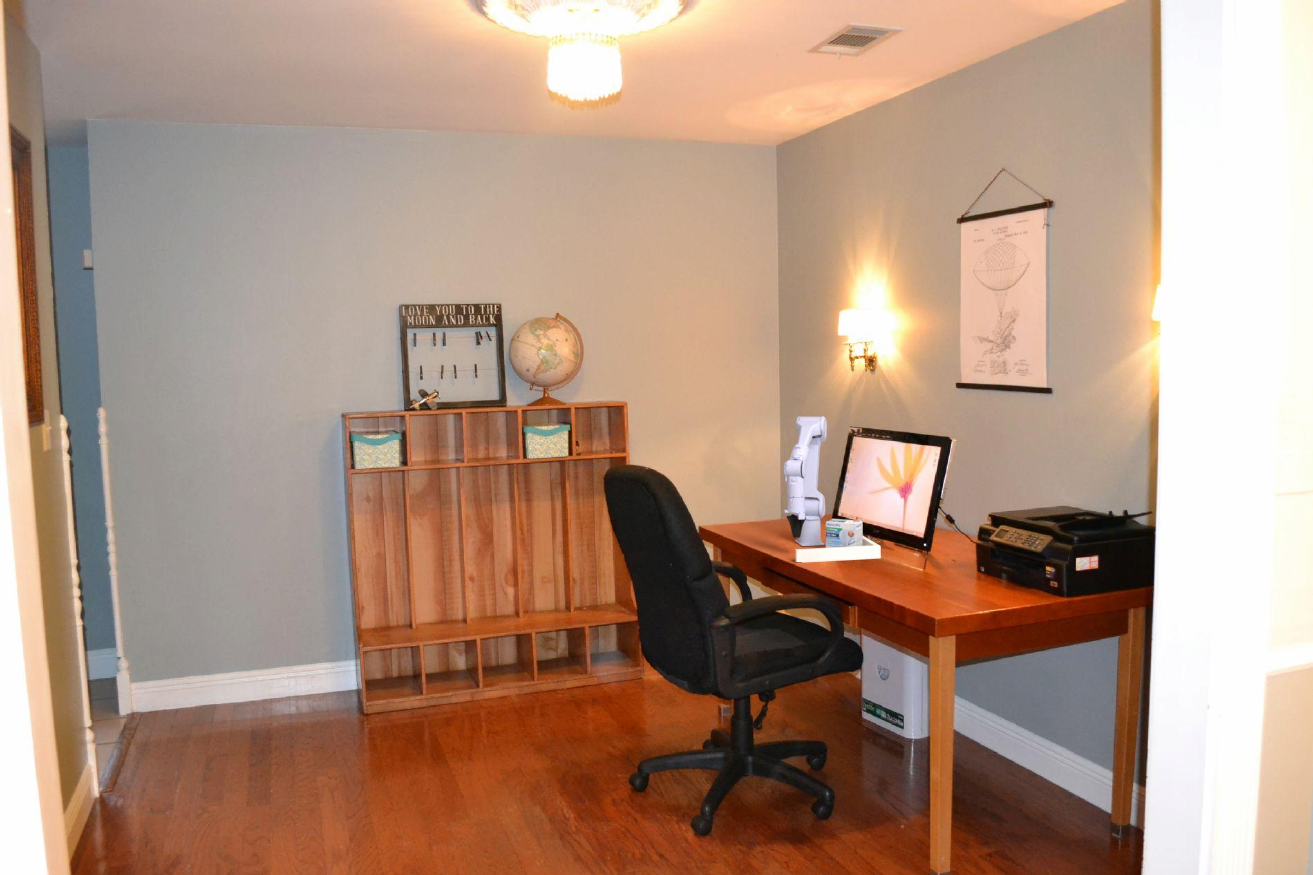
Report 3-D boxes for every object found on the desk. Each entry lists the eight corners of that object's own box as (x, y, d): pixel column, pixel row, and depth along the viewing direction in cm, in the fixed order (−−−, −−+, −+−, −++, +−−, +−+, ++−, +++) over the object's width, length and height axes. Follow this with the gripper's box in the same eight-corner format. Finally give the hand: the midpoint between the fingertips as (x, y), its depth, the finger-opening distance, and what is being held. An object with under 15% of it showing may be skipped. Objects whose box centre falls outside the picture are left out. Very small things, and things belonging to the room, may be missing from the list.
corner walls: (781, 550, 339) (781, 538, 338) (861, 546, 342) (861, 534, 342) (796, 562, 320) (796, 550, 319) (880, 558, 323) (880, 545, 322)
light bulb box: (825, 554, 332) (824, 521, 331) (832, 550, 337) (832, 518, 336) (856, 556, 326) (856, 523, 325) (863, 552, 332) (863, 520, 331)
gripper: (778, 493, 336) (779, 533, 338) (789, 500, 322) (790, 542, 323) (799, 492, 337) (799, 532, 338) (810, 499, 323) (811, 541, 324)
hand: (796, 537), depth 331 cm, fingers closed
